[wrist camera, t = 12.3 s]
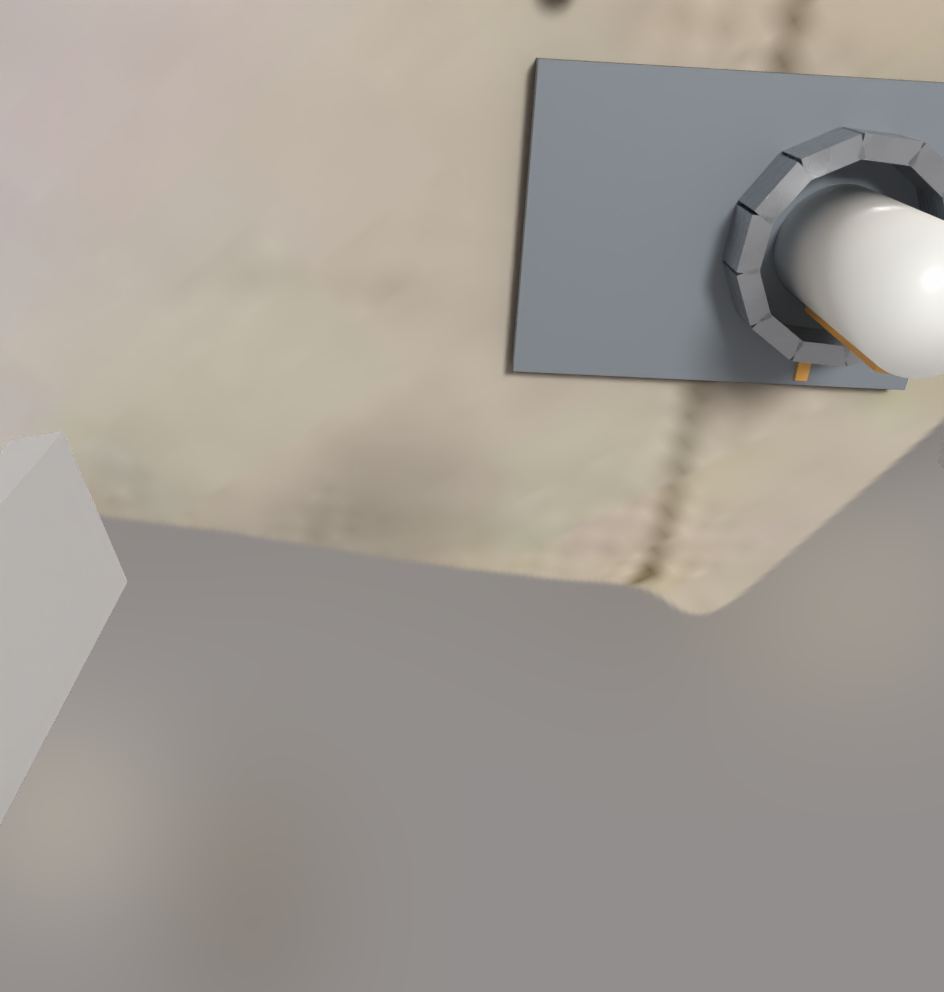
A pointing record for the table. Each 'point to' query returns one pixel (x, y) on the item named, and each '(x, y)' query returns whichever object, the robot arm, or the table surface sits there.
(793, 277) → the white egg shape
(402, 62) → the table surface
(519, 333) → the board
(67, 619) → the robot arm
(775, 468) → the table surface
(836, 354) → the duct collar
